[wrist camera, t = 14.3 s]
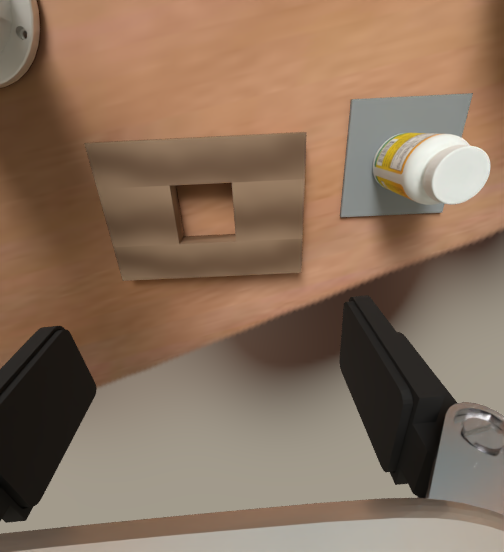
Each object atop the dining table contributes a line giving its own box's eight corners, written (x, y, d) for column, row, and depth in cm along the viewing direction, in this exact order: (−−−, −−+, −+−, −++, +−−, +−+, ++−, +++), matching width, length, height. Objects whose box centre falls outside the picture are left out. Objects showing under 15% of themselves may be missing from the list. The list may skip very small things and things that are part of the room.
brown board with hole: (97, 142, 28) (84, 143, 26) (301, 132, 28) (306, 132, 26) (130, 270, 34) (122, 280, 32) (297, 263, 34) (301, 272, 32)
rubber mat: (351, 99, 27) (352, 99, 26) (469, 94, 27) (472, 93, 26) (339, 216, 32) (340, 217, 31) (439, 211, 32) (442, 212, 31)
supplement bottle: (369, 141, 28) (422, 146, 19) (425, 125, 27) (506, 123, 19) (373, 195, 30) (422, 221, 22) (425, 182, 30) (497, 202, 21)
